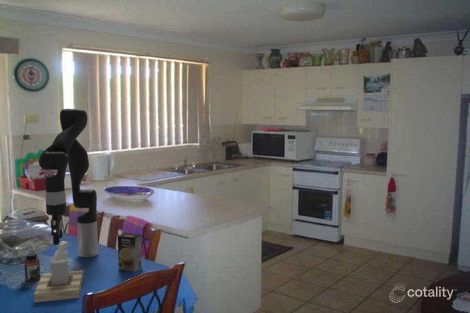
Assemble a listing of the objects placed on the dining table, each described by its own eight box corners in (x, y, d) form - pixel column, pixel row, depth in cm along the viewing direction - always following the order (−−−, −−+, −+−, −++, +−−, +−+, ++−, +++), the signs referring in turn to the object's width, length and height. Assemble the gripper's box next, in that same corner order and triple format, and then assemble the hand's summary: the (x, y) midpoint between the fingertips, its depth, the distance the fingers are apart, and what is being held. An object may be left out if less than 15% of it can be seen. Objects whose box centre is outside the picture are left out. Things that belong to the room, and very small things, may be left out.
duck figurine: (59, 271, 203) (73, 251, 203) (44, 262, 201) (59, 242, 202) (63, 261, 215) (77, 243, 215) (50, 253, 213) (64, 235, 213)
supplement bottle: (25, 277, 190) (24, 252, 188) (40, 275, 192) (39, 250, 191) (24, 282, 184) (23, 257, 183) (40, 280, 186) (38, 255, 185)
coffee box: (117, 270, 198) (116, 236, 196) (124, 265, 204) (123, 232, 202) (135, 272, 196) (134, 237, 194) (142, 267, 202) (141, 233, 200)
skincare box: (69, 286, 181) (68, 258, 179) (68, 290, 177) (66, 262, 175) (53, 288, 179) (52, 259, 178) (51, 292, 175) (50, 263, 173)
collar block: (43, 281, 186) (43, 273, 185) (83, 277, 189) (82, 269, 189) (34, 302, 166) (34, 293, 166) (78, 297, 170) (78, 288, 170)
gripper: (48, 198, 179) (50, 236, 181) (42, 206, 165) (45, 247, 168) (68, 197, 181) (70, 235, 183) (63, 205, 167) (65, 246, 169)
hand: (58, 241), depth 175 cm, fingers open, 8 cm apart
